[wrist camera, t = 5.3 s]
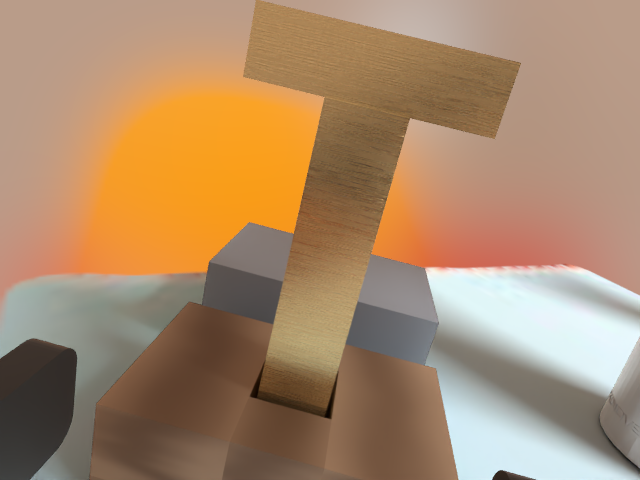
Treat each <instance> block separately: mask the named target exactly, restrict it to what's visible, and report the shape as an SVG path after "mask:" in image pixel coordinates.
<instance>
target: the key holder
mask: <svg viewBox="0 0 640 480" xmlns="http://www.w3.org/2000/svg"><path fill="white" fill-rule="evenodd" d="M293 236H294V234H292V233H288V232H284V231H281V230H276V229H273V228H269V227H265V226H261V225H258V224H254V223H250V222H249V223H248V224H247V225H246V226H245V227H244V228H243V229H242V230H241V231H240V232H239V233H238V234H237V235H236V236H235V237H234V238H233V239H232V240H231V241H230V242H229V243H228V244H227V245H226V246H225V247H224V248H223V249H222V250H221V251H220V252H219V253H218V254H217V255H216V256H214V258H212V260H210V262H209V265H208V271H207V277H206V283H205V289H204V295H203V301H202V305H203V306H207V307H211V308H214V309H218V310H222V311H225V312H229V313H233V314H237V315H240V316H244V317H248V318H251V319H255V320H259V321H262V322H266V323H270V324H274V320H275V316H276V311H277V307H278V302H279V298H280V293H281V289H282V284H283V280H284V276H285V271H286V267H287V262H288V258H289V253H290V249H291V244H292V240H293ZM438 324H439V322H438V318H437V314H436V310H435V306H434V302H433V298H432V294H431V290H430V287H429V283H428V279H427V275H426V271H425V268H422V267H418V266H414V265H410V264H407V263H403V262H398V261H395V260H391V259H388V258H384V257H380V256H376V255H372V254H371V256H370V259H369V263H368V266H367V270H366V273H365V277H364V280H363V284H362V287H361V291H360V294H359V298H358V301H357V305H356V308H355V312H354V315H353V319H352V322H351V326H350V329H349V333H348V336H347V340H346V343H345V344H347V345H351V346H355V347H358V348H362V349H366V350H369V351H373V352H377V353H380V354H384V355H388V356H391V357H395V358H399V359H402V360H406V361H410V362H414V363H417V364H421V365H424V364H425V361H426V358H427V355H428V352H429V349H430V347H431V344H432V341H433V338H434V335H435V333H436V330H437V327H438Z"/></svg>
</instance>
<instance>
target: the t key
mask: <svg viewBox="0 0 640 480" xmlns="http://www.w3.org/2000/svg"><path fill="white" fill-rule="evenodd" d="M520 65H521V63H519V62H515V61H510V60H506V59H502V58H498V57H494V56H489V55H485V54H481V53H477V52H473V51H469V50H465V49H460V48H456V47H452V46H448V45H444V44H439V43H435V42H431V41H427V40H423V39H418V38H414V37H410V36H406V35H402V34H398V33H393V32H389V31H385V30H381V29H376V28H373V27H368V26H364V25H360V24H356V23H351V22H347V21H343V20H339V19H335V18H331V17H326V16H322V15H318V14H314V13H309V12H305V11H302V10H297V9H293V8H289V7H285V6H281V5H276V4H272V3H268V2H264V1H260V0H256V4H255V10H254V16H253V22H252V27H251V34H250V39H249V46H248V51H247V57H246V63H245V69H244V75H243V76H244V77H247V78H251V79H255V80H259V81H263V82H267V83H271V84H275V85H279V86H283V87H287V88H291V89H295V90H299V91H303V92H307V93H311V94H315V95H320V96H323V97H325V98H324V103H323V107H322V111H321V116H320V120H319V125H318V129H317V134H316V138H315V142H314V147H313V151H312V156H311V160H310V165H309V170H308V173H307V178H306V183H305V187H304V191H303V196H302V200H301V205H300V209H299V213H298V218H297V222H296V227H295V231H294V236H293V240H292V244H291V249H290V253H289V258H288V262H287V267H286V271H285V276H284V280H283V284H282V289H281V293H280V298H279V302H278V307H277V311H276V316H275V320H274V324H273V329H272V333H271V338H270V342H269V347H268V351H267V355H266V360H265V364H264V369H263V373H262V378H261V382H260V387H259V391H258V395H257V399H259V400H263V401H267V402H270V403H274V404H277V405H281V406H285V407H288V408H292V409H295V410H299V411H302V412H306V413H310V414H313V415H317V416H320V417H325V413H326V410H327V406H328V403H329V399H330V396H331V392H332V389H333V385H334V382H335V378H336V375H337V371H338V368H339V364H340V361H341V357H342V354H343V350H344V347H345V343H346V340H347V336H348V333H349V329H350V326H351V322H352V319H353V315H354V312H355V308H356V305H357V301H358V298H359V294H360V291H361V287H362V284H363V280H364V277H365V273H366V270H367V266H368V263H369V259H370V256H371V252H372V249H373V245H374V242H375V239H376V235H377V232H378V228H379V224H380V221H381V217H382V214H383V210H384V207H385V204H386V200H387V197H388V193H389V190H390V186H391V183H392V179H393V175H394V172H395V169H396V165H397V162H398V158H399V155H400V151H401V148H402V144H403V141H404V137H405V134H406V130H407V126H408V123H409V120H410V118H412V119H416V120H420V121H424V122H429V123H433V124H437V125H441V126H445V127H449V128H453V129H457V130H461V131H465V132H469V133H473V134H477V135H481V136H485V137H489V138H493V139H495V136H496V133H497V130H498V128H499V125H500V122H501V119H502V116H503V113H504V110H505V108H506V104H507V101H508V99H509V96H510V93H511V90H512V88H513V85H514V82H515V79H516V76H517V73H518V70H519V67H520Z"/></svg>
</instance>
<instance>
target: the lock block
mask: <svg viewBox="0 0 640 480" xmlns="http://www.w3.org/2000/svg"><path fill="white" fill-rule="evenodd" d="M272 329H273V324H270V323H266V322H262V321H259V320H255V319H251V318H248V317H244V316H240V315H237V314H233V313H229V312H225V311H222V310H218V309H214V308H211V307H207V306H203V305H200V304H196V303H192V302H189V303H188V304H187V305H186V306H185V307H184V308H183V309H182V310H181V311H180V313H179V314H178V315H177V316H176V317H175V318H174V319H173V320H172V321H171V322H170V324H169V325H168V326H167V327H166V328H165V329H164V330H163V331H162V332H161V333H160V334H159V336H158V337H157V338H156V339H155V340H154V341H153V342H152V343H151V344H150V345H149V347H148V348H147V349H146V350H145V351H144V352H143V353H142V354H141V355H140V356H139V357H138V359H137V360H136V361H135V362H134V363H133V364H132V365H131V366H130V367H129V368H128V370H127V371H126V372H125V373H124V374H123V375H122V376H121V377H120V378H119V379H118V380H117V382H116V383H115V384H114V385H113V386H112V387H111V388H110V389H109V390H108V391H107V393H106V394H105V395H104V396H103V397H102V398H101V399H100V400H99V401H98V402H97V403H96V411H95V422H94V433H93V444H92V455H91V466H90V477H89V480H458V475H457V470H456V465H455V460H454V455H453V450H452V445H451V441H450V436H449V431H448V426H447V421H446V416H445V411H444V406H443V401H442V396H441V391H440V386H439V381H438V377H437V372H436V368H432V367H428V366H425V365H421V364H417V363H414V362H410V361H406V360H402V359H399V358H395V357H391V356H388V355H384V354H380V353H377V352H373V351H369V350H366V349H362V348H358V347H355V346H351V345H347V344H345V347H344V350H343V354H342V357H341V361H340V364H339V368H338V371H337V375H336V378H335V382H334V385H333V389H332V392H331V396H330V399H329V403H328V406H327V410H326V413H325V417H320V416H317V415H313V414H310V413H306V412H302V411H299V410H295V409H292V408H288V407H285V406H281V405H277V404H274V403H270V402H267V401H263V400H259V399H257V395H258V391H259V387H260V382H261V378H262V373H263V369H264V364H265V360H266V355H267V351H268V347H269V342H270V338H271V333H272Z"/></svg>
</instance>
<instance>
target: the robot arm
mask: <svg viewBox="0 0 640 480" xmlns="http://www.w3.org/2000/svg"><path fill="white" fill-rule="evenodd" d="M76 366H77V355H76V352H75V351H74V350H73V349H71V348H67V347H64V346H60V345H56V344H53V343H49V342H46V341H42V340H39V339H29V340H27V341H25V342H24V343H22V344H21V345H19V346H18V347H16V348H15V349H14V350H12V351H11V352H9V353H8V354H6V355H5V356H4V357H2V358H1V359H0V480H30V479H31V478H32V477H33V476H34V474H35V473H36V472H37V471H38V470H39V469H40V468H41V467H42V466H43V465H44V463H45V462H46V461H47V460H48V459H49V458H50V457H51V456H52V455H53V454H54V452H55V451H56V450H57V449H58V448H59V446H60V445H61V443H62V442H63V440H64V438H65V436H66V434H67V432H68V430H69V427H70V425H71V421H72V417H73V407H74V393H75V380H76ZM599 418H600V423H601V426H602V428H603V430H604V432H605V434H606V435H607V436H608V438H609V439H610V440H611V441H612V443H613V444H614V445H615V446H616V447H617V448H618V449H619V450H620V451H621V452H622V453H623V454H624V455H625V456H626V457H627V458H628V459H629V460H630V461H632V462H633V463H634V464H635V465H636V466H638V467H639V468H640V337H639V339H638V341H637V343H636V345H635V347H634V349H633V351H632V353H631V355H630V356H629V358H628V360H627V362H626V364H625V366H624V368H623V370H622V372H621V374H620V376H619V377H618V379H617V381H616V383H615V385H614V387H613V389H612V391H611V392H610V394H609V396H608V399H607V401H606V402H605V404H604V406H603V408H602V410H601V413H600V416H599ZM492 480H535V479H532V478H528V477H525V476H521V475H517V474H514V473H510V472H507V471H503V470H500V471H498V472H497V473H496V474H495V475H494V477H493V479H492Z"/></svg>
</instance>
